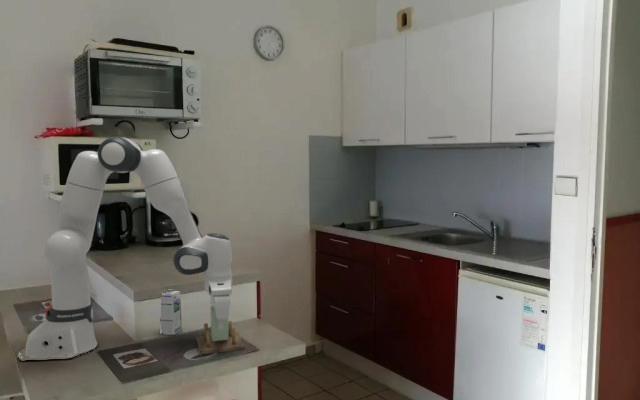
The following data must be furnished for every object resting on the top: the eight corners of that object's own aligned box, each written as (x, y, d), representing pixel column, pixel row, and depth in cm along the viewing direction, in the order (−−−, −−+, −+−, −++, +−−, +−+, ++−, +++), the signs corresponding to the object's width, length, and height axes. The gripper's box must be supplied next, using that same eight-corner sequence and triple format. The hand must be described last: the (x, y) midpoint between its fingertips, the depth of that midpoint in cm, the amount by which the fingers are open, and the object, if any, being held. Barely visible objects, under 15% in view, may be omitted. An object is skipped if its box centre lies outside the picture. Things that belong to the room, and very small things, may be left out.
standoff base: (199, 354, 165) (199, 335, 164) (196, 339, 178) (195, 322, 178) (244, 349, 169) (244, 330, 168) (238, 335, 182) (237, 318, 182)
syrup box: (174, 335, 183) (173, 293, 182) (158, 334, 184) (157, 293, 183) (182, 330, 188) (180, 289, 187) (166, 329, 189) (165, 289, 188)
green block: (212, 341, 170) (212, 310, 169) (211, 336, 175) (210, 306, 174) (228, 339, 172) (227, 309, 171) (226, 334, 176) (225, 305, 176)
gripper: (205, 277, 181) (206, 317, 182) (211, 291, 161) (212, 336, 162) (224, 276, 183) (224, 315, 184) (232, 290, 163) (233, 334, 164)
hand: (219, 325), depth 173 cm, fingers closed on green block, 5 cm apart
